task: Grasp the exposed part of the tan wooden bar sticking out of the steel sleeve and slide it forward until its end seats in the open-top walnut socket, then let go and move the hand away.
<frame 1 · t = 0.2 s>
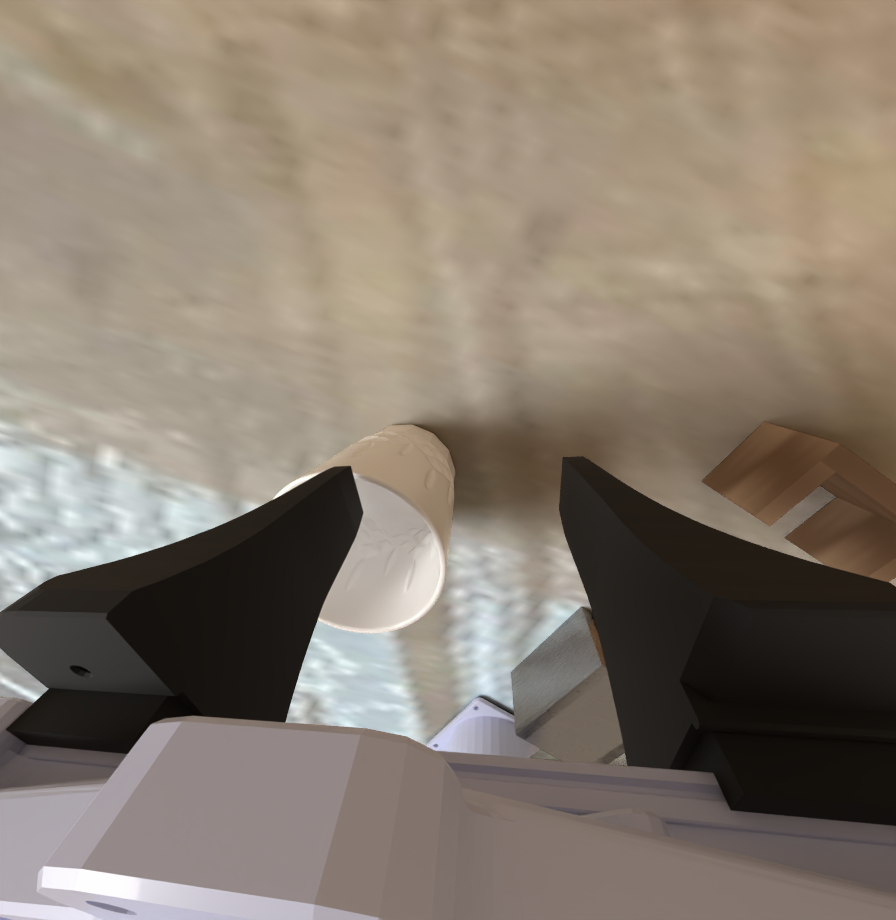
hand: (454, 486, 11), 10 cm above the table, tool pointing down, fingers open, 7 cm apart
white cup: (407, 469, 23), on the table
tan wooden bar: (627, 653, 23), point 2 cm above the table, slide at 0.0 cm
socket: (781, 487, 20), on the table
sleeve: (577, 660, 27), on the table
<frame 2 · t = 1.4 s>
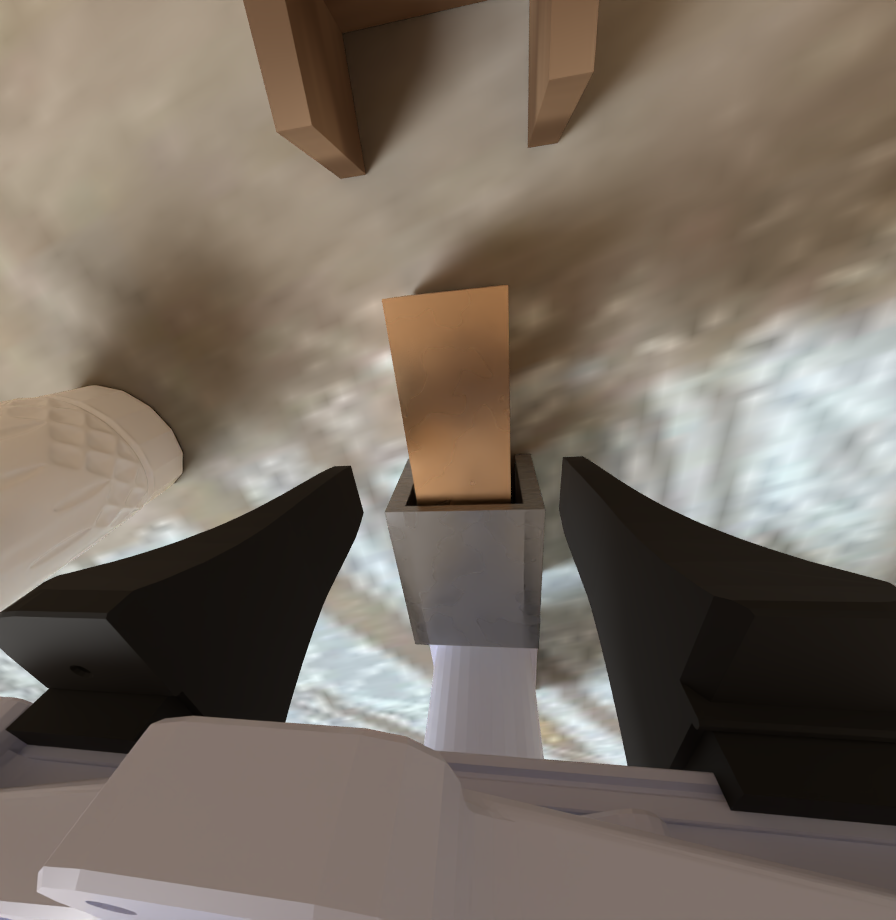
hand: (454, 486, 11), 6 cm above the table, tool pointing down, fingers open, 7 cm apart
white cup: (132, 439, 20), on the table
tan wooden bar: (465, 477, 16), point 2 cm above the table, slide at 0.0 cm
socket: (436, 71, 11), on the table
sleeve: (473, 522, 20), on the table
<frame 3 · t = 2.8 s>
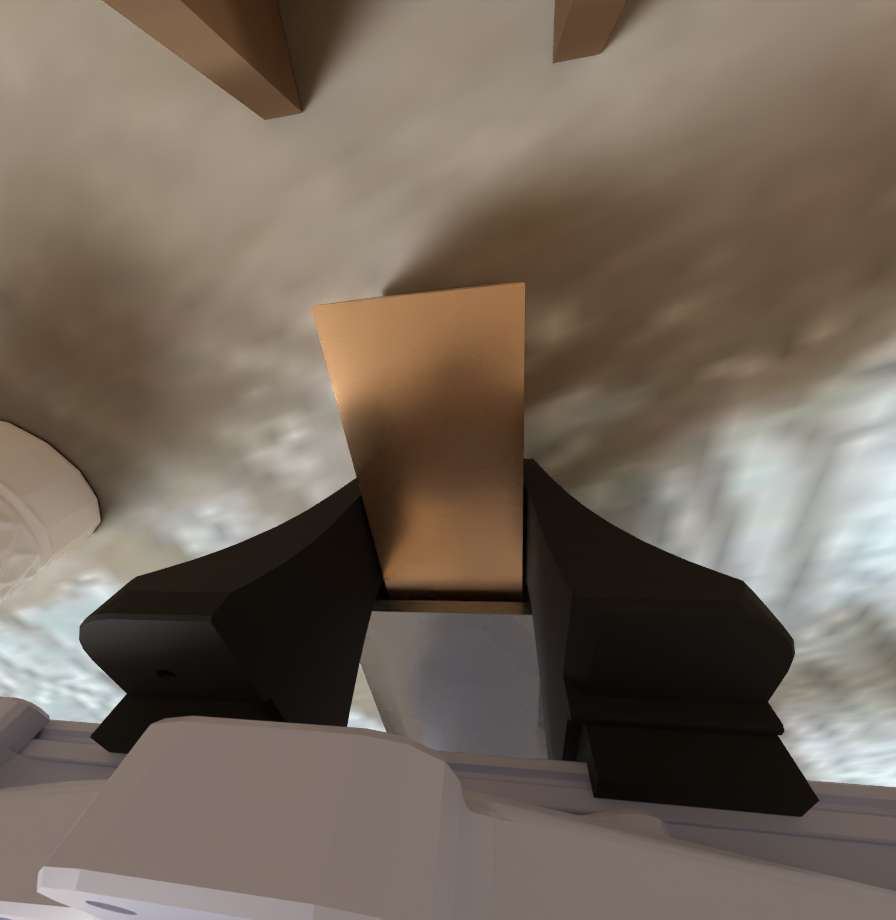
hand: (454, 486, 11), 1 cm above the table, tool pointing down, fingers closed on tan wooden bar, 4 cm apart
white cup: (34, 480, 15), on the table
tan wooden bar: (458, 547, 11), point 2 cm above the table, slide at 0.0 cm, touching gripper
sleeve: (469, 586, 15), on the table
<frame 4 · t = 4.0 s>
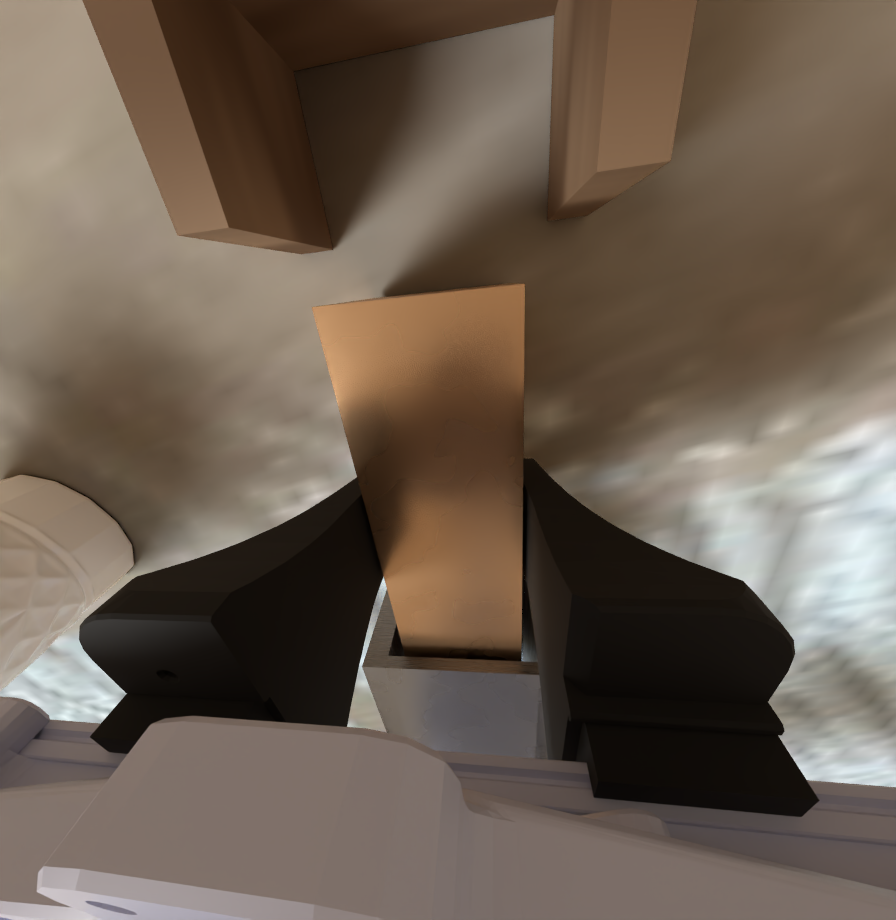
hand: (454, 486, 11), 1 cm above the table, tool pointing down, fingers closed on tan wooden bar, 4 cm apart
white cup: (73, 527, 17), on the table
tan wooden bar: (458, 547, 11), point 2 cm above the table, slide at 2.9 cm, touching gripper
socket: (424, 123, 8), on the table
sleeve: (473, 624, 17), on the table
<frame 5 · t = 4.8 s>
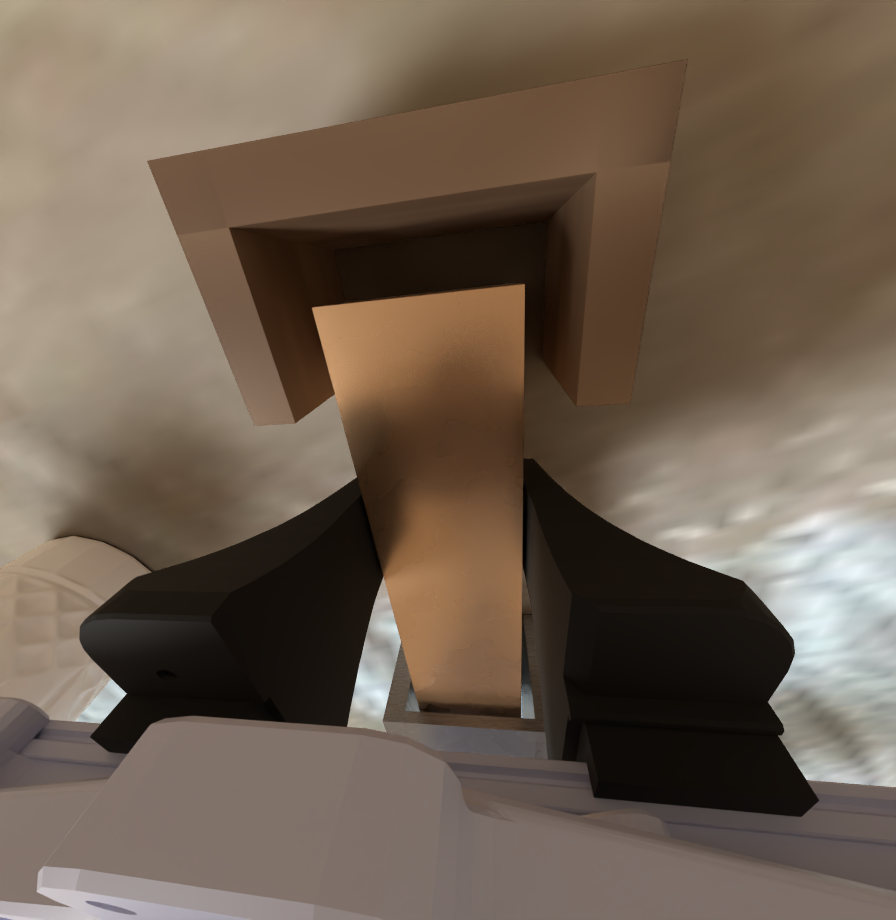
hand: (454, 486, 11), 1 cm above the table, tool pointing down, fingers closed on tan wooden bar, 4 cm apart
white cup: (114, 578, 18), on the table
tan wooden bar: (458, 547, 11), point 2 cm above the table, slide at 6.4 cm, touching gripper
socket: (440, 288, 10), on the table
sleeve: (477, 665, 19), on the table
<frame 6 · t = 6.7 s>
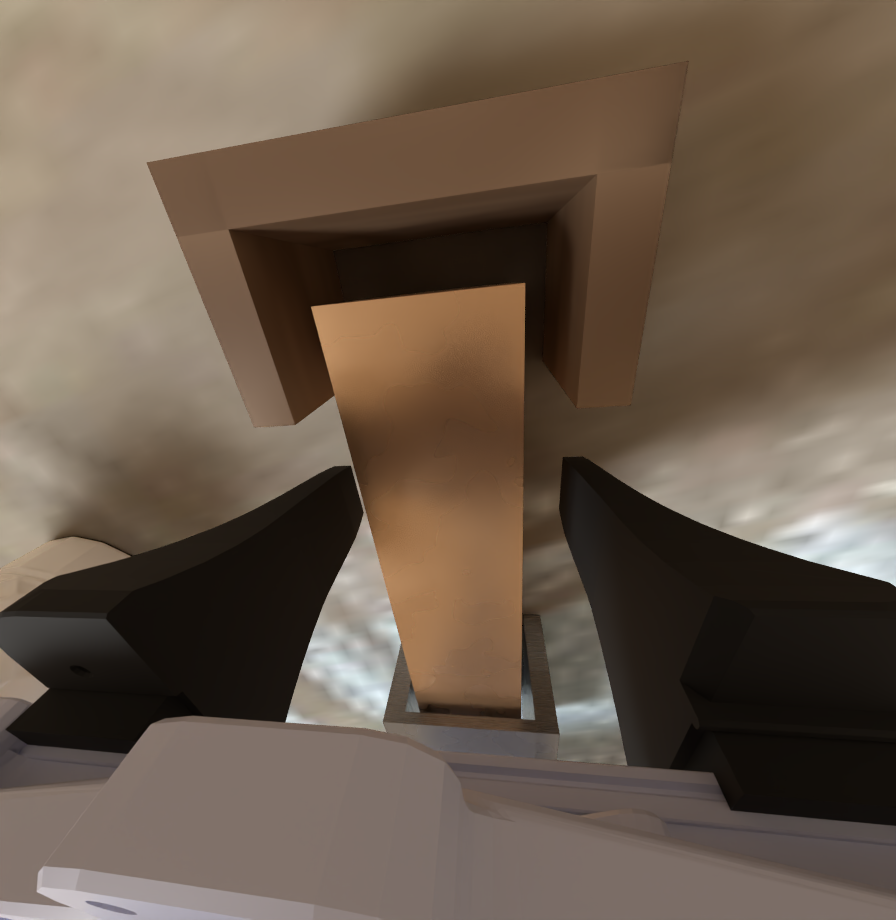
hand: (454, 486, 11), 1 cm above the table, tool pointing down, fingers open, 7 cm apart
white cup: (114, 578, 18), on the table
tan wooden bar: (458, 547, 11), point 2 cm above the table, slide at 6.5 cm
socket: (440, 289, 10), on the table
sleeve: (477, 666, 19), on the table
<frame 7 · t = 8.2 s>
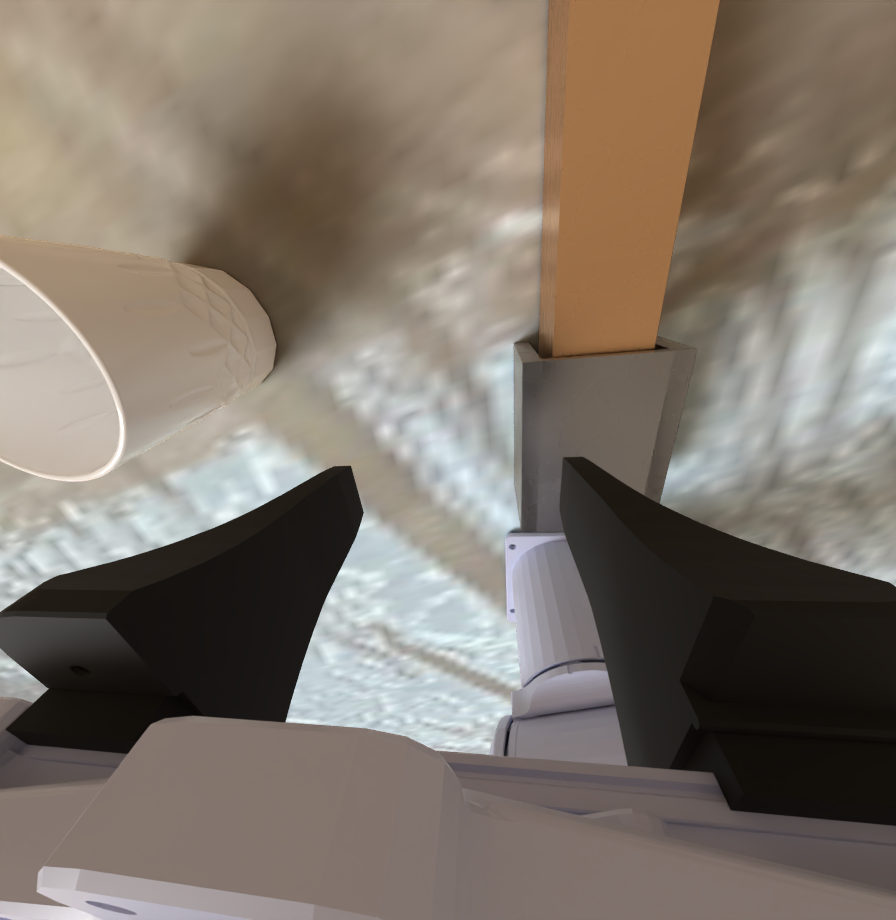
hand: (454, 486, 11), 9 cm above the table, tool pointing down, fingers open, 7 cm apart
white cup: (223, 332, 19), on the table
tan wooden bar: (606, 164, 12), point 2 cm above the table, slide at 6.5 cm
sleeve: (570, 418, 19), on the table
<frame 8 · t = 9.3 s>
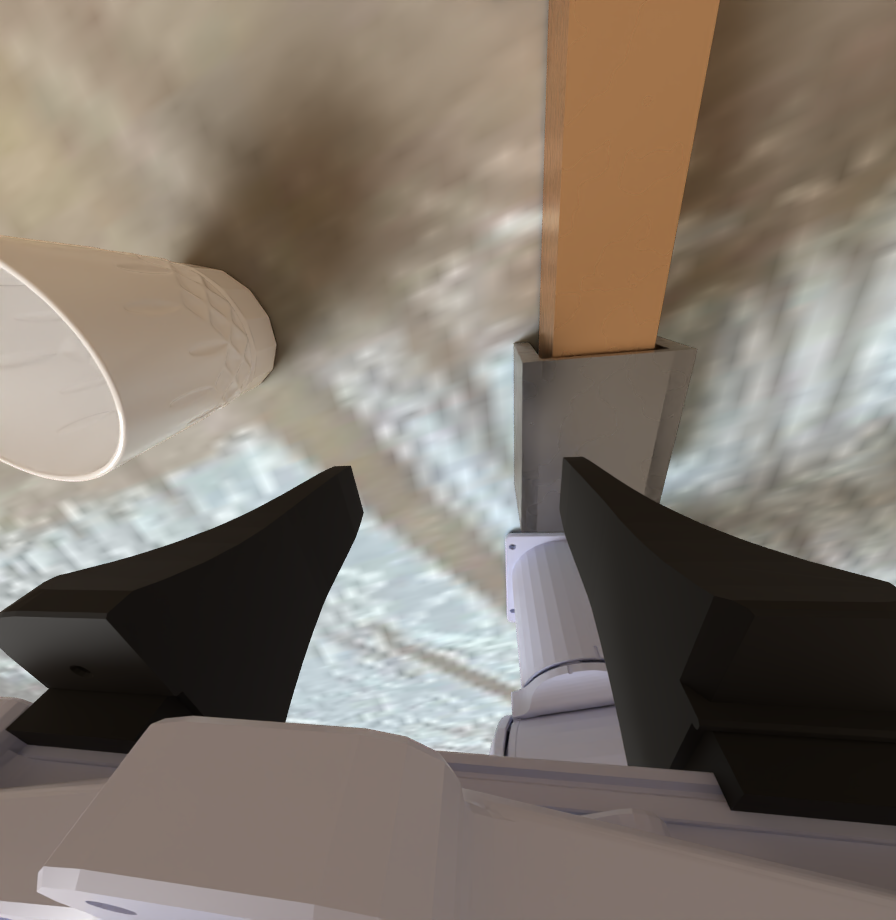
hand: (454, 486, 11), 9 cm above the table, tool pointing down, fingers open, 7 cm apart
white cup: (223, 332, 19), on the table
tan wooden bar: (606, 164, 12), point 2 cm above the table, slide at 6.5 cm
sleeve: (570, 418, 19), on the table
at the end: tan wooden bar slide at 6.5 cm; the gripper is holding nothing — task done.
